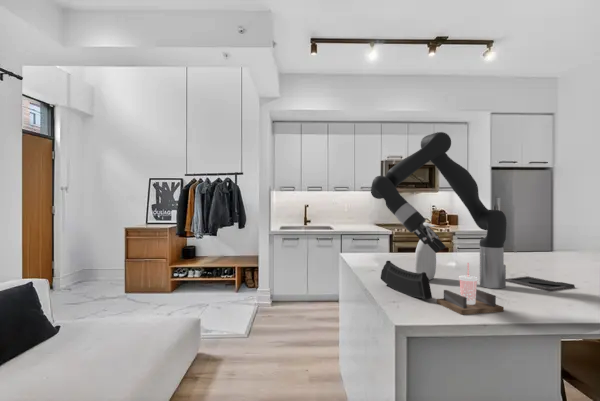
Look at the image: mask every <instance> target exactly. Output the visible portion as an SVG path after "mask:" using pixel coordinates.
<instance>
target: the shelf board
mask: <svg viewBox="0 0 600 401" xmlns="http://www.w3.org/2000/svg"><path fill="white" fill-rule="evenodd" d="M496 296H497V295H494V294H492V293H489V292H486V291H483V290H480V289H478V288H476V302H475V304H473V305H469V304H467V298H466V297H464V296H461V294H458V293H456V292H454V291H451V290H448V289H443V298H437V299H436V303H437V304H438V305H441V306H442V305H443V306H442V307H444V306H445V308H446V307H447V308H446V309H448V308H449V310H451V311H453V312H455V313H456V314H459V315H460V316H461V315H464V316H465V315H476V314H477V315H478V314H489V313H500V312H504V306H502V305H499V304H497V303H496V301H497V300H496V298H497V297H496Z"/></svg>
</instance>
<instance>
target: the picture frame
mask: <svg viewBox="0 0 600 401" xmlns="http://www.w3.org/2000/svg"><path fill="white" fill-rule="evenodd" d="M506 283H511V284H515V285H519V286H524V287H527V288H528V287H529V288H533V289H537V290H542V291H546V292H556V291H562V290H569V289H575V286H576V285H575V284H572V283H567V282H562V281H560V282H559V281H552V280H548V279H543V278H538V277H532V276H529V275H528V276H519V277H510V278H506Z"/></svg>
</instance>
